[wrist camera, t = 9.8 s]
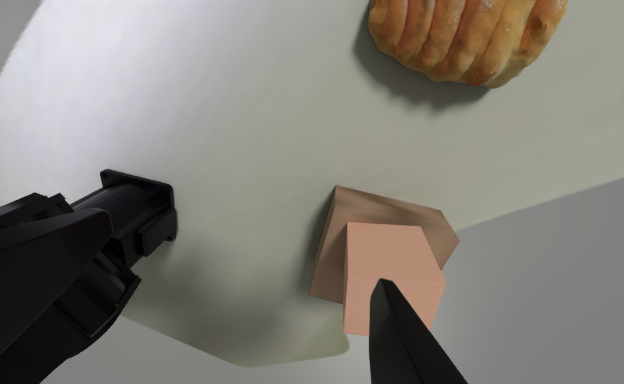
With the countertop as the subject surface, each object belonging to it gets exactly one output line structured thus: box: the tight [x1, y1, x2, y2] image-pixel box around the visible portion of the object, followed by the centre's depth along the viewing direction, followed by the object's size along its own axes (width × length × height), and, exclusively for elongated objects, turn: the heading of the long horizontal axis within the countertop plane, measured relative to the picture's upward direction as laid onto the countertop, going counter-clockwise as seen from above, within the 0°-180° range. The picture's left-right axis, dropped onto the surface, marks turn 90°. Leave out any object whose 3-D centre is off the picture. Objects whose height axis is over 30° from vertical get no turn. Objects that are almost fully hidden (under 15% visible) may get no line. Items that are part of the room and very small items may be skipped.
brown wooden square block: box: [309, 185, 460, 304], centre depth 21 cm, size 9×9×4 cm
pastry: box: [368, 0, 567, 88], centre depth 14 cm, size 9×7×4 cm
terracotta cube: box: [343, 222, 446, 336], centre depth 17 cm, size 5×5×5 cm
